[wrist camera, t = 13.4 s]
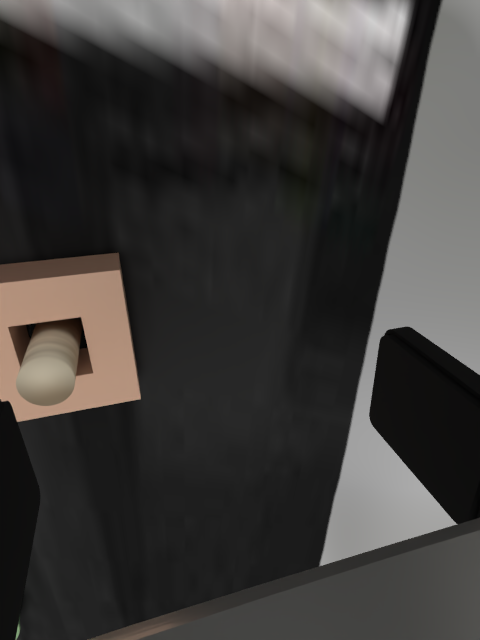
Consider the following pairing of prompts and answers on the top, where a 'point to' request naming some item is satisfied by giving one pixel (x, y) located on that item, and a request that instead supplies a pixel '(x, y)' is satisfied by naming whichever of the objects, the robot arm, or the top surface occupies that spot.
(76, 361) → the peg
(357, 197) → the top surface
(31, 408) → the socket
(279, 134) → the top surface
